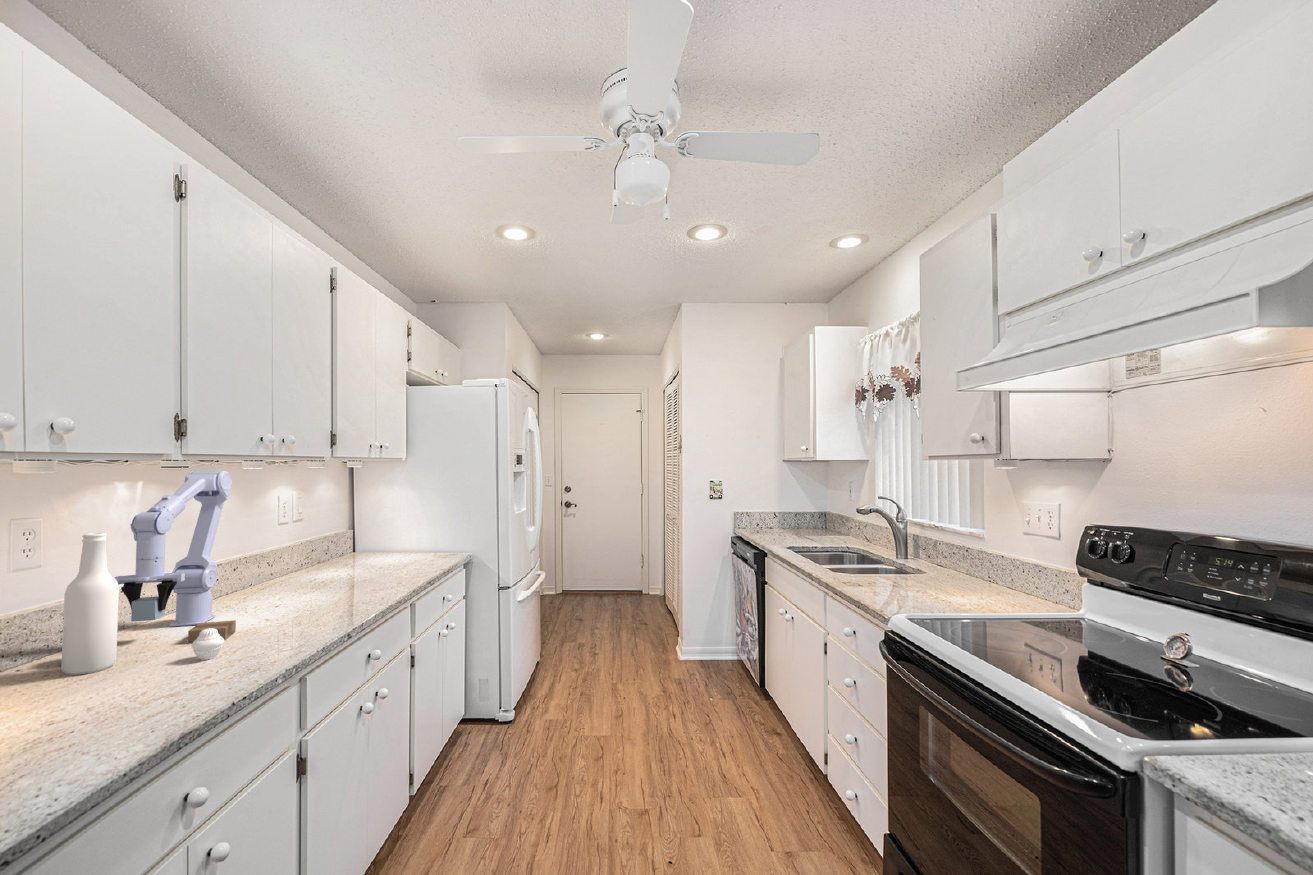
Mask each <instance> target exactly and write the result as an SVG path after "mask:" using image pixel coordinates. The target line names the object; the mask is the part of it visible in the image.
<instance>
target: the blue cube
mask: <svg viewBox="0 0 1313 875" xmlns="http://www.w3.org/2000/svg"><path fill="white" fill-rule="evenodd" d="M158 600H159V598H158V595H156V596H142V597H140V598H139V599H137V600H135V601H132V610H131V614H130V615H131V616H130V620H131V621H130V622H144V621H156V620H159V619H160V618H161V617H164V616H165V615H166V608H165V609H164V610H162V611H158Z"/></svg>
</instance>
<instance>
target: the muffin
mask: <svg viewBox="0 0 1313 875" xmlns="http://www.w3.org/2000/svg"><path fill="white" fill-rule="evenodd" d="M224 643H225V640H224V638H222V637H221V636H220V634H218V630H217V629H214V628H208V629H205V630H203V631H201V632H200V634H199V636H198V638H197V639H196V640H195V641H194V642H193V643H191V648H192V651H193V652H194V654H195V655H196V657H197V659H198V660H199V659H201V660H200V661H208V659H209V660H213V659H215V658H217V657H218V655H219V653H220V652H221V649H222V648H223V647H224V646H223V645H224Z"/></svg>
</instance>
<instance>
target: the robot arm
mask: <svg viewBox="0 0 1313 875" xmlns="http://www.w3.org/2000/svg"><path fill="white" fill-rule="evenodd" d="M232 485H233V480H232V477H231V475H230V473H229V471H226V470H220V471H219V470H218V471H217V470H216V471H215V470H214V471H210V470H209V471H208V470H206V471H202V470H200V471H197V470H191V471H190V472H188V474H186V475H185V476H184V483H183V484H182V485H181V486H180V487H179V488H178V489H177V490H176V491H175V493H174V494H168V495H167V494H166V495H163V496H162V497H161V499H159V501H158V502H156V503H155V504H154V505H153V506H151V507H150V508H149V509H148V510H147V511H142V512H140V513H139V512H138V514H135V516H134V517H132V521H131V523H130V530H131V532H132V533H133V540H134V541H135V542H136V548H135V549H136V551H135V574H130V575H117V576H113V577H114V578H115V579H116V580H117V582H118V586H119V585H123V586H121V587H120V590H121V592H123V594H124V595H125V597H126V598H127V601H128V603H129V606H130V609H131V611H132V601H135V600H137V599H139V598H141V594H142V589H143V586H144V584H151V583H158V584H156V589H157V596H158V598H159V600H158V611H162V610H164V609H165V610H166V608H167V603H168V600H169V599H170V597H171V594H172V592H173V593H174V594H176V600H175V621H174V622H171V623H170V624H168V627H181V626H182V627H183V626H197V625H198V624H200V623H206V622H209V621H210V620H212V619H214V618H216V614H213V594H212V592H211V591H210V590H212V589H213V587H214V585H215V584H216V582H217V578H218V577H217V575H218V574H217V569H218V565H217V563H216V562H215V561H214V560H212V559H211V558H210V556H211V552H212V549H213V544H214V540H215V537H216V533H217V530H218V526H219V523H220V518H221V516H222V512H223V508H224V504H225V502H226V501H227V500H229V496H230V492H231V489H232ZM191 499H194V500H195V501H197V502H200V504H201V506H200V507H201V508H200V509H199V514H198V518H197V520H196V523H195V524H196V525H195V528H194V531H193V535H192V538H191V542H190V545H189V548H188V551H187V552H188V553H187V555H186V556H185V557H183V558H182V559H180V560H179V561H177V562H176V563H175V565H174V568H173V570H172V572H165V567H166V566H165V562H166V561H165V560H166V557H165V556H166V533H168V532H170V530H171V528H172V525H173V524H174V522H175V519H176V518H177V517H178V516H179V515H180V514H181V513H182V512H183V511H184V510H185V509H186V503H187V502H189V501H190V500H191Z"/></svg>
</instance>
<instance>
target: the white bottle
mask: <svg viewBox="0 0 1313 875" xmlns="http://www.w3.org/2000/svg"><path fill="white" fill-rule="evenodd" d="M107 535H108V533H106V532H89V533H84V534H83V535H81V536H82V537H83V538H82V541H81V542H82V548H81V554H80V562H79V569H78V572H77V575H76V576H75V578H74V579H73V580H71V581H70V583H69V584H68V585H67V587H66V589H65V592H64V600H63V602H64V604H63V623H62V624H63V625H62V626H63V627H62V644H61V645H62V646H61V648H62V649H61V666H60V667H61V669H60V670H61V672H63V674H64V675H66V676H81V675H82V674H83V675H88V674H87V673H89V674H94V673H97V672H102V671H105V670H107V669H110V668H112V667H113V666H114V665H115V663H116V662H117V653H118V652H117V649H118V648H117V647H118V625H119V624H118V623H119V598H120V587H119V585H118V582H117V580H116V579H115V578H114V577H115V576H113V575H111V573H110V572H109V569H108V555H107V541H108V539H107Z"/></svg>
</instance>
